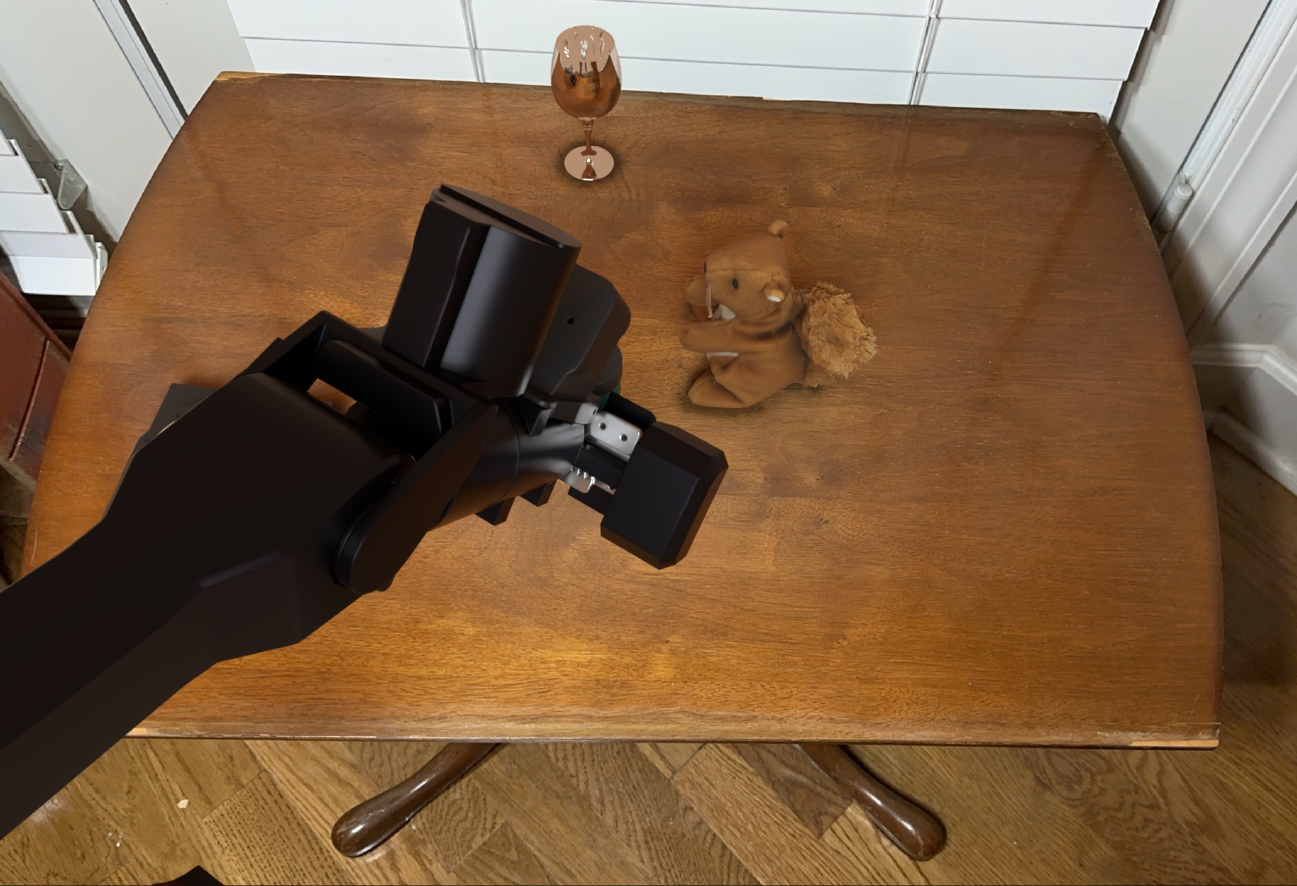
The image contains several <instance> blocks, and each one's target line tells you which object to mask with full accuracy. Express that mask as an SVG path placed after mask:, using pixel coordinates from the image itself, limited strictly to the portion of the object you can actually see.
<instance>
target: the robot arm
mask: <svg viewBox="0 0 1297 886" xmlns="http://www.w3.org/2000/svg"><path fill="white" fill-rule="evenodd" d="M582 248H583V244H582V241H580V240H579V239H577V238H576V236H573V235H571V234H570V233H569V232H567V231H565V230H563V229H561V228H560V227H557V226H555V225H554V224H552V223H550V222H548V221H546V220H544V219H542V218H540V217H537V216H535V215H533V214H531V213H528V212H526V211H524V210H521V209H520V208H517V207H515V206H512V205H510V204H507V203H505V202H502V201H500V200H497V199H495V198H492V197H490V196H486V195H484V194H481V193H478V192H475V191H473V190H469V189H466V188H463V187H459V186H456V185H453V184H447V183H444V182H443V183H442V182H441V183H440V186H439V188H438V187H435V188H432V191H431V193H430V197H429V199H428V201H427V202H426V203H425V204H424V207H423V209H422V212H421V216H420V218H419V221H418V224H417V227H416V231H415V235H414V238H413V242H412V247H411V251H410V255H409V257H408V261H407V263H406V266H405V269H404V272H403V275H402V277H401V281H400V284H399V287H398V288H397V292H396V295H395V298H394V301H393V304H392V308H391V310H390V313H389V316H388V317H387V322H386V324H383V325H382V326H375V327H374V326H373V327H357V326H355V325H353V324H351V323H349V322H348V321H346V320H344V319H343V318H341V317H339V316H338V315H335V314H334V313H332V312H330V311H328V310H325V309H322V310H320V311H318V312H317V313H316V314H314V315H313V316H312V317H311V318H308V320H307V321H305V322H304V323H303V324H302V325H300V326H299V327H298V328H296V329H295V330H294V331H293V332H291V333H290V334H289V335H287V336H286V337H285V338H284V339H283V338H281V337H280V336H277V337H276V338H275V339H274V340H272V342H271V343H270V344H269V345H268V346H267V347H266V348H265V349H264V350H263V351H262V352H261V353H260V354H259V355H258V356H257V357H256V358H255V359H254V360H253V361H252V362H251V363H250V364H249V365H248V366H247V367H246V368H245V369H243V370H242V371H241V372H239V373H237V374H236V376H234V377H232V379H231V380H229V381H227V382H226V383H225V384H223V385H222V386H221V387H219V388H218V389H217V390H216V391H214V392H213V393H211V394H210V395H208V396H207V397H206V398H204V399H203V400H202V401H201V402H199V403H198V404H197V405H195V406H194V407H193V408H192V409H190V410H189V411H188V412H186V413H185V414H184V415H183V416H181V417H180V418H179V419H177V420H176V421H175V422H174V423H172V424H171V425H170V426H168V427H167V428H166V429H165V430H163V431H162V432H161V433H159V434H158V435H157V436H155V437H154V438H153V439H152V440H150V441H149V442H148V443H146V444H145V445H144V446H143V447H141V448H140V449H139V450H138V451H136V452H135V453H134V454H133V455H132V457H131V458H130V457H129V458H130V460H129V459H128V460H129V461H128V460H127V462H128V464H127V463H126V464H127V466H126V465H125V466H126V468H125V467H124V468H125V470H124V469H123V470H124V472H123V471H122V472H123V474H122V473H121V475H122V476H121V475H120V476H121V477H120V478H119V480H118V483H117V485H116V486H115V489H114V491H113V493H112V496H111V497H110V499H109V501H108V504H107V506H106V508H105V510H104V512H103V515H102V516H101V518H100V520H99V521H98V522H97V523H96V524H94V525H93V526H92V527H90V528H89V529H88V530H87V531H85V532H84V533H83V534H82V535H81V536H79V537H78V538H76V539H75V540H74V541H73V542H72V543H70V544H69V545H67V547H66V548H64V549H63V550H61V551H60V552H59V553H57V554H56V555H54V556H52V557H51V558H49V559H47V560H46V561H45V562H43V563H42V564H40V565H38V566H37V567H36V568H34V569H32V570H31V571H30V572H28V573H27V574H25V575H23V576H22V577H20V578H18V579H17V580H16V581H14V582H13V583H11V584H9V585H8V586H6V587H5V588H3V589H2V590H0V842H1V841H2V840H3V839H4V838H6V837H7V836H8V835H10V834H11V833H12V832H13V831H14V830H15V829H17V827H20V825H21V824H22V823H24V822H25V821H26V820H27V819H28V818H30V816H32V815H33V814H34V813H35V812H37V811H38V810H39V809H40V808H41V807H43V806H45V804H46V803H47V802H48V801H49V800H51V799H52V798H53V797H55V796H56V795H57V794H58V793H59V792H61V791H62V790H63V789H64V788H65V787H67V785H69V784H70V783H71V782H72V781H74V779H76V778H77V777H79V776H80V775H81V774H82V773H83V772H84V771H85V770H86V769H88V768H89V767H90V766H91V765H92V764H94V763H95V762H97V760H98V759H100V758H101V757H102V756H103V755H105V754H106V753H107V752H108V751H109V750H111V748H113V747H114V746H115V745H116V744H117V743H119V742H120V741H121V740H123V738H124V737H126V736H127V735H128V734H129V733H131V732H132V731H133V730H134V729H135V728H136V727H138V726H139V725H140V724H141V723H142V722H144V721H145V720H146V719H147V718H148V717H150V716H151V715H152V714H153V713H155V712H156V710H158V708H160V707H161V706H162V705H164V704H165V703H166V702H168V701H169V700H170V699H171V698H172V697H174V695H176V694H177V693H178V692H180V690H182V689H183V688H184V687H185V686H187V685H188V684H189V683H191V682H192V681H194V680H196V679H197V678H198V677H200V676H201V675H203V674H204V673H205V672H206V671H208V670H209V669H211V668H213V667H214V666H215V665H216V664H219V663H222V662H227V661H231V660H235V659H240V658H244V657H248V656H252V655H257V654H260V653H266V652H269V651H275V650H279V649H282V648H286V647H291V646H294V645H297V644H300V643H301V642H302V641H304V640H306V639H307V638H308V637H309V636H311V635H313V633H315V632H316V631H318V630H319V629H320V628H321V627H323V626H324V625H326V623H328V622H330V621H332V619H334V618H335V617H336V616H337V615H339V614H340V613H341V612H343V611H344V610H345V609H347V608H348V607H350V606H351V605H352V604H353V603H355V602H356V601H358V600H359V599H360V598H362V596H366V595H368V594H371V593H374V592H376V591H377V592H381V593H384V592H387V590H389V589H390V588H391V586H392V585H393V582H394V580H395V577H396V575H397V574H398V573H399V572H400V570H401V569H402V568H403V567H404V566H405V564H406V563H407V561H408V560H409V559H410V557H411V556H412V554H413V553H414V552H415V550H416V549H417V547H418V546H419V544H420V543H421V542H422V540H423V539H424V538H425V536H426V535H427V533H430V532H432V531H434V530H437V529H439V528H442V527H444V526H447V525H449V524H452V523H454V522H457V521H459V520H460V521H461V520H462V519H464V518H467V517H470V516H472V515H475V516H477V517H478V518H479V519H481V520H483V521H485V522H487V523H488V524H490V525H492V527H497V526H499V525H500V524H503V523H505V522H507V519H508V517H509V514H510V513H511V510H512V508H513V505H514V502H515V500H516V498H518V497H520V498H522V499H523V500H524V501H526V502H528V503H530V504H532V505H533V506H536V507H537V508H540V507H542V506H544V505H546V504H549V500H550V499H551V496H552V493H553V491H554V489H555V486H556V484H557V481H558V480H560V481H562V482H563V483H565V484H566V485H568V486H569V488H568V491H567V493H566V494H567V496H569V497H571V498H573V499H574V500H576V501H578V502H579V503H581V504H583V505H585V506H587V507H588V508H590V509H592V510H593V511H595V512H597V513H598V514H600V515H602V516H603V517H602V519H601V521H600V523H599V528H600V529H599V531H600V537H602V538H603V539H605V540H607V541H608V542H610V543H611V544H614V545H616V546H617V547H619V548H621V549H622V550H624V551H625V552H627V553H629V554H630V555H633V556H634V557H636V558H638V559H639V560H641V561H642V562H644V563H646V564H648V565H650V566H651V567H653V568H655V569H657V570H658V571H661V570H664V569H667V568H670V567H673V566H676V565H677V564H678V563H680V562H681V561H682V560H684V558H686V557H687V555H688V554H689V551H690V549H691V547H692V545H693V543H694V541H695V538H696V537H697V535H698V532H699V530H700V528H701V526H702V524H703V522H704V520H705V518H706V515H707V514H708V512H709V509H710V507H711V505H712V503H713V502H714V500H715V497H716V495H717V493H718V491H719V488H720V487H721V485H722V482H723V480H724V479H725V476H726V474H727V473H728V470H729V468H730V465H729V463H728V459H727V457H726V454H725V451H724V450H722V449H721V448H718V447H717V446H715V445H713V444H711V443H709V442H707V441H706V440H704V439H702V438H700V437H698V436H696V435H694V434H692V433H691V432H688V431H687V430H685V429H683V428H681V427H679V426H677V425H674V424H671V423H668V422H667V423H666V422H664V421H659V420H657V417H656V415H655V414H654V413H653V412H652V411H651V410H649V409H647V408H646V407H643V406H641V405H640V404H638V403H635V402H634V401H632V400H630V399H628V398H627V397H625V396H623V395H621V394H620V395H619V394H617V393H615V392H613V391H611V393H610V395H609V397H608V400H607V402H606V404H605V407H604V409H603V411H602V412H599V413H596V412H597V410H598V407H599V405H600V403H601V400H602V398H601V397H599V396H597V395H595V394H593V393H592V390H593V388H594V385H595V383H596V380H597V378H598V377H599V375H600V373H601V372H602V370H603V368H604V366H605V365H606V363H607V361H608V359H609V358H610V356H611V354H612V352H613V351H614V349H615V347H616V345H617V346H618V344H619V342H620V340H621V338H622V337H623V336H625V334H626V332H627V331H628V329H629V327H630V324H631V321H632V311H631V309H630V307H629V306H628V304H627V303H626V301H625V299H624V298H623V297H622V296H621V294H620V292H619V291H618V290H617V288H616V286H614V284H613V282H612V281H611V280H609V279H607V278H606V277H605V276H602V275H601V274H598V273H596V272H595V271H592V270H591V269H588V268H586V267H584V266H582V265H580V264H578V263H577V261H578V258H579V256H580V253H581V251H582ZM317 380H319V381H321V382H323V383H324V384H326V385H328V386H329V387H331V388H333V389H335V390H337V391H338V392H340V393H341V394H343V395H345V396H347V397H348V398H350V399H352V400H354V401H355V402H354V403H353V404H352V405H350V406H349V408H348V409H347V410H346V411H345V413H344V412H342V411H340V410H339V409H337V408H336V407H335V408H336V409H335V408H334V407H332V406H330V405H329V404H327V403H325V402H326V401H325V402H324V400H322V399H320V398H318V397H317V396H316V395H313V394H312V393H310V392H308V391H309V390H310V389H311V387H312V386H313V385H314V384H315V382H316V381H317ZM575 467H576V468H577V469H576V470H575ZM150 886H226V885H225V884H224V883H223V882H221V881H220V880H219V879H218V878H216V876H214V875H212V874H211V873H210V872H209V871H207V870H206V869H205V868H204V867H202V866H201V865H200V864H197V865H195V866H194V867H193V868H191V869H190V870H188V871H187V872H185V873H183V875H179V876H178V877H176V878H174V879H171V880H168V881H162V882H155V883H152V884H151V885H150Z"/></svg>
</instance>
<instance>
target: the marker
mask: <svg viewBox="0 0 1297 886" xmlns="http://www.w3.org/2000/svg"><path fill="white" fill-rule="evenodd" d="M622 377H623V353H622V350H621V349H620V347H619V345H618V344H617V345H616V347H615V349H614V351H613V352H612V354H611V356H610V358H609V359H608V361H607V363H606V365H605V366H604V368H603V370H602V372H601V373H600V375H599V377H598V378H597V380H596V383H595V385H594V388H593V390H592V393H593V394H595V395H597V396H599V397H601V398H602V400H601V403H600V405H599V407H598V410H597V412H596V413H599V412H602V411H603V409H604V407H605V404H606V402H607V400H608V397H609V395H610V393H611V391H613V392H615V393H617V394H619V395H621V380H622ZM576 469H577V468H576V467H575V470H576Z"/></svg>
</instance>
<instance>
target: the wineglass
mask: <svg viewBox="0 0 1297 886" xmlns="http://www.w3.org/2000/svg"><path fill="white" fill-rule="evenodd" d="M621 67H622V66H621V60H620V56H619V53H618V49H617V45H616V41H615V39H614V37H613V35H612V34H611V33H610V32H608V31H607V30H605V29H603V28H602V27H599V26H595V25H588V24H586V25H583V24H582V25H575V26H571V27H568V28H567V29H565V30H563V31H562V32H560V33H559V35H558V36H557V37H556V40H555V42H554V47H553V52H552V57H551V65H550V87H551V92H552V95H553V98H554V100H555V102H556V104H557V105H558V107H559V108H560V110H561V111H563V112H564V113H565V114H567V115H568V116H570V117H572V118H574V119H578V120H581V124H582V125H581V126H582V127H583V130H584V135H585V145H580V146H577V147H575V148H573V149H571V150H570V151H569V152H567V154H566V156H565V157H564V161H563V163H564V165H563V166H564V169H565V171H566V172H567V173H568V175H570V176H571V177H573V178H575V179H577V180H580V181H586V182H590V181H591V182H593V181H598V180H601V179H604V178H606V177H607V176H608V175H610V174H611V172H612V171H613V169H614V167H615V159H614V157H613V155H612V154H611V153H610V152H609V151H608V150H607V149H605V148H603V147H601V146H598V145H592V132H593V127H594V124H595V120H598V119H600V118H603V117H604V116H607V115H608V114H609V113H610V112H612V110H613V109H614V108H615V107H616V106H617V104H618V102H619V100H620V97H621V92H622V85H623V77H622V76H623V73H622V68H621Z"/></svg>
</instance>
